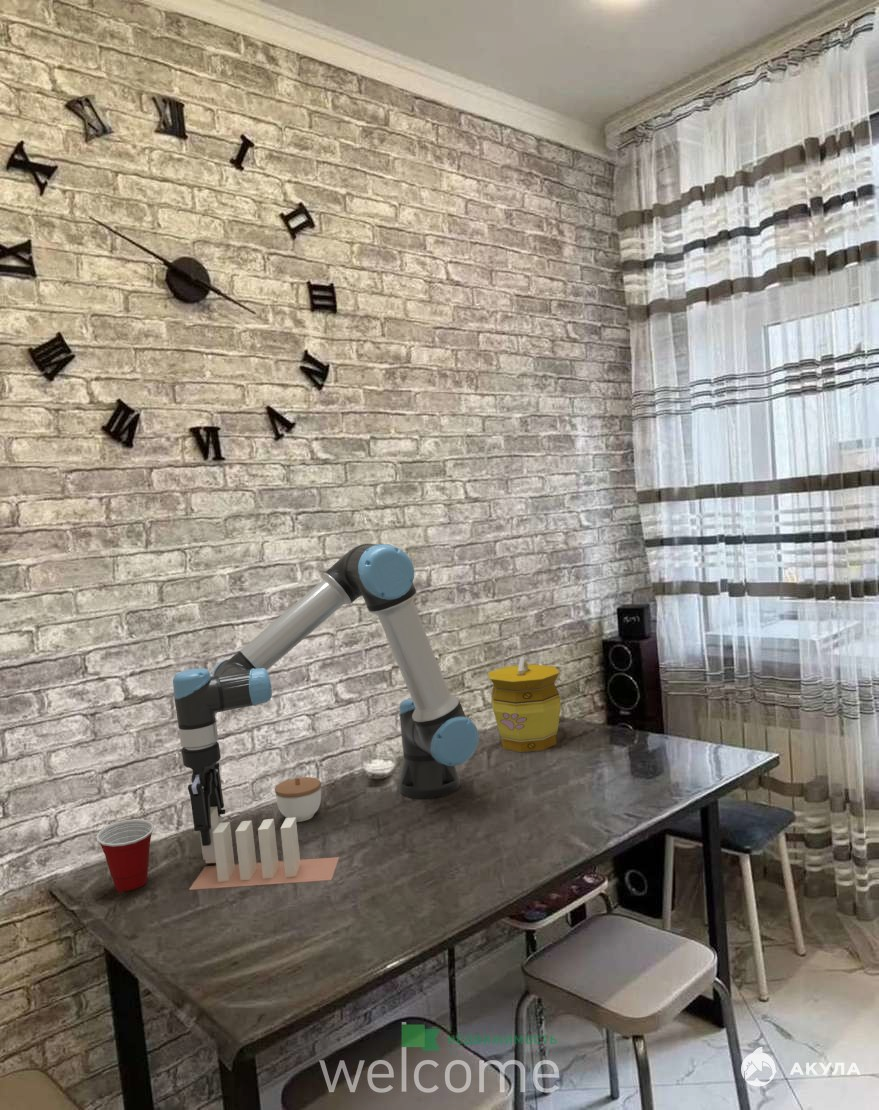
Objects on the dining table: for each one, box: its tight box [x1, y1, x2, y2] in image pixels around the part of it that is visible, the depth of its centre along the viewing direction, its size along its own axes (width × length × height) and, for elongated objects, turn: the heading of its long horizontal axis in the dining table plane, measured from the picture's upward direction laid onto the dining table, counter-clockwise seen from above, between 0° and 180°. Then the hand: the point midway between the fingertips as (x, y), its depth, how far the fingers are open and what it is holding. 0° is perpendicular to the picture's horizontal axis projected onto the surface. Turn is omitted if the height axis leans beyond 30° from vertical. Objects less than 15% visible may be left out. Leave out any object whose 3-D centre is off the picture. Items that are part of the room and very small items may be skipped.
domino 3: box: [234, 820, 257, 880], centre depth 166 cm, size 2×5×10 cm, turn 178°
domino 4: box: [257, 818, 279, 879], centre depth 166 cm, size 2×5×10 cm, turn 178°
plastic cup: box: [95, 818, 155, 894], centre depth 166 cm, size 11×11×12 cm
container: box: [487, 656, 562, 753], centre depth 236 cm, size 21×21×25 cm
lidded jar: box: [274, 776, 322, 823], centre depth 196 cm, size 11×11×9 cm
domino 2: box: [213, 821, 235, 882], centre depth 166 cm, size 2×5×10 cm, turn 178°
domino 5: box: [280, 817, 301, 877], centre depth 166 cm, size 2×5×10 cm, turn 178°
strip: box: [188, 856, 340, 891], centre depth 166 cm, size 28×10×1 cm, turn 88°
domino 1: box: [204, 806, 219, 864], centre depth 174 cm, size 2×5×10 cm, turn 178°
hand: (214, 852), depth 174 cm, fingers closed on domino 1, 5 cm apart
